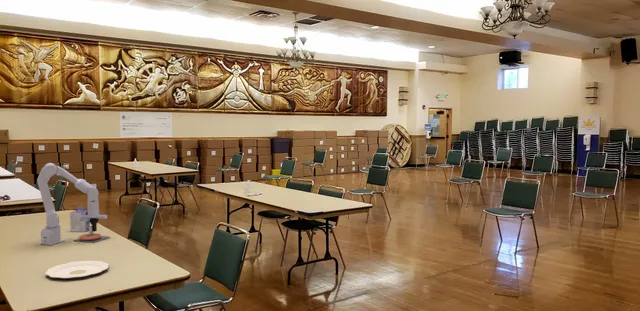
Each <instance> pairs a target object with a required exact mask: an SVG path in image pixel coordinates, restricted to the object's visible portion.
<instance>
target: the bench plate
mask: <svg viewBox="0 0 640 311" xmlns="http://www.w3.org/2000/svg"><path fill="white" fill-rule="evenodd" d="M110 238H111V237H110V236H107V235H101V238H98V239H94V240H80V239H79V238H76V239H74V240H73V241H74V242H78V243H88V244H95V243H98V242H100V241H102V242H103V241H105V240H107V239H110Z"/></svg>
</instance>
